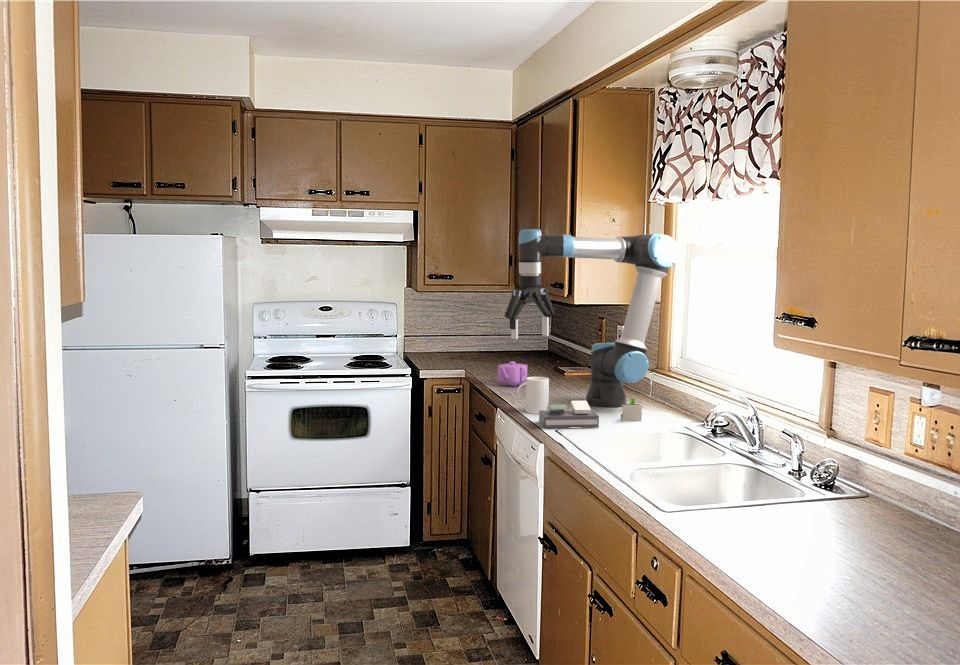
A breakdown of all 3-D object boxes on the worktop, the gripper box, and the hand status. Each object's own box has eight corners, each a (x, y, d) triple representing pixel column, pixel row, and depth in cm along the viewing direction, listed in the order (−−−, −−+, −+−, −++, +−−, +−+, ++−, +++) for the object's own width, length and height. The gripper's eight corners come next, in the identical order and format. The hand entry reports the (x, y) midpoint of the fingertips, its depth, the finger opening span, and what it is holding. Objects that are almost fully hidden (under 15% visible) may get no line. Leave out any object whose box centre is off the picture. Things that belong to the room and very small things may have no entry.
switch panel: (591, 421, 274) (591, 406, 274) (598, 427, 264) (599, 413, 264) (539, 421, 272) (539, 407, 272) (544, 428, 262) (544, 413, 262)
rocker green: (562, 409, 271) (562, 405, 271) (566, 408, 264) (566, 404, 264) (547, 409, 271) (547, 405, 271) (550, 408, 264) (550, 404, 264)
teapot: (512, 390, 331) (512, 365, 330) (484, 386, 339) (484, 362, 338) (535, 384, 346) (535, 360, 345) (508, 380, 354) (508, 357, 353)
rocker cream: (586, 404, 272) (586, 400, 271) (590, 413, 265) (590, 409, 265) (570, 404, 271) (571, 400, 271) (575, 413, 265) (575, 409, 264)
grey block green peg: (618, 420, 278) (618, 397, 277) (636, 419, 279) (637, 396, 278) (622, 423, 274) (623, 399, 273) (641, 422, 275) (642, 399, 274)
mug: (518, 414, 285) (518, 380, 283) (514, 409, 293) (515, 376, 292) (551, 413, 286) (551, 380, 284) (546, 408, 294) (547, 376, 293)
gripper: (550, 273, 284) (550, 333, 287) (494, 275, 270) (494, 339, 272) (565, 274, 278) (564, 335, 281) (507, 276, 264) (508, 341, 266)
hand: (530, 337), depth 277 cm, fingers open, 13 cm apart
